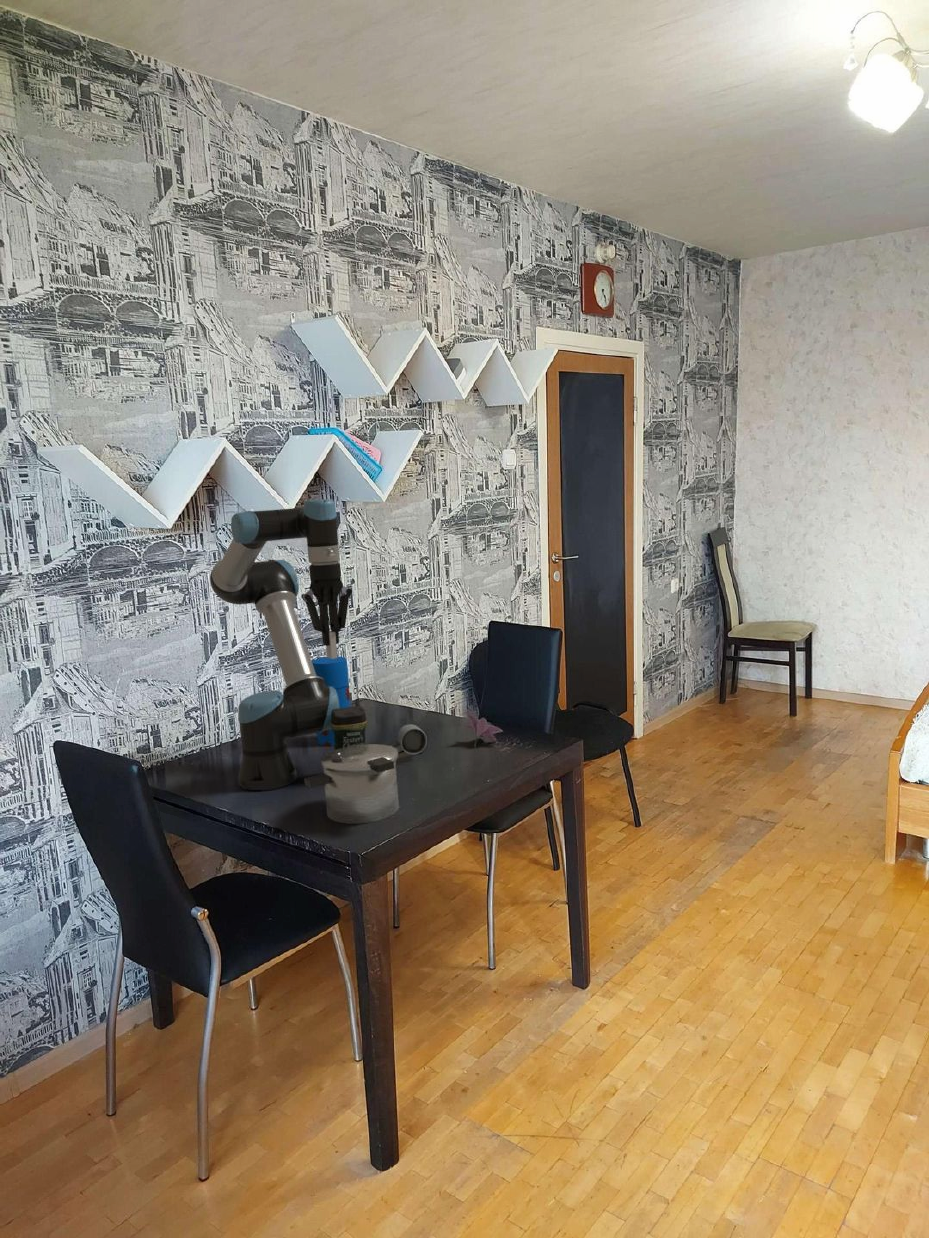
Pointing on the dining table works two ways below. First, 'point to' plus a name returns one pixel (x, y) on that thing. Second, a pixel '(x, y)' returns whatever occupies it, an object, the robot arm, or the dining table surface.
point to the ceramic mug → (410, 740)
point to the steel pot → (360, 793)
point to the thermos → (337, 678)
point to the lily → (482, 727)
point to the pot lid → (360, 758)
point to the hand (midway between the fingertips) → (332, 657)
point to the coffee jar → (348, 726)
